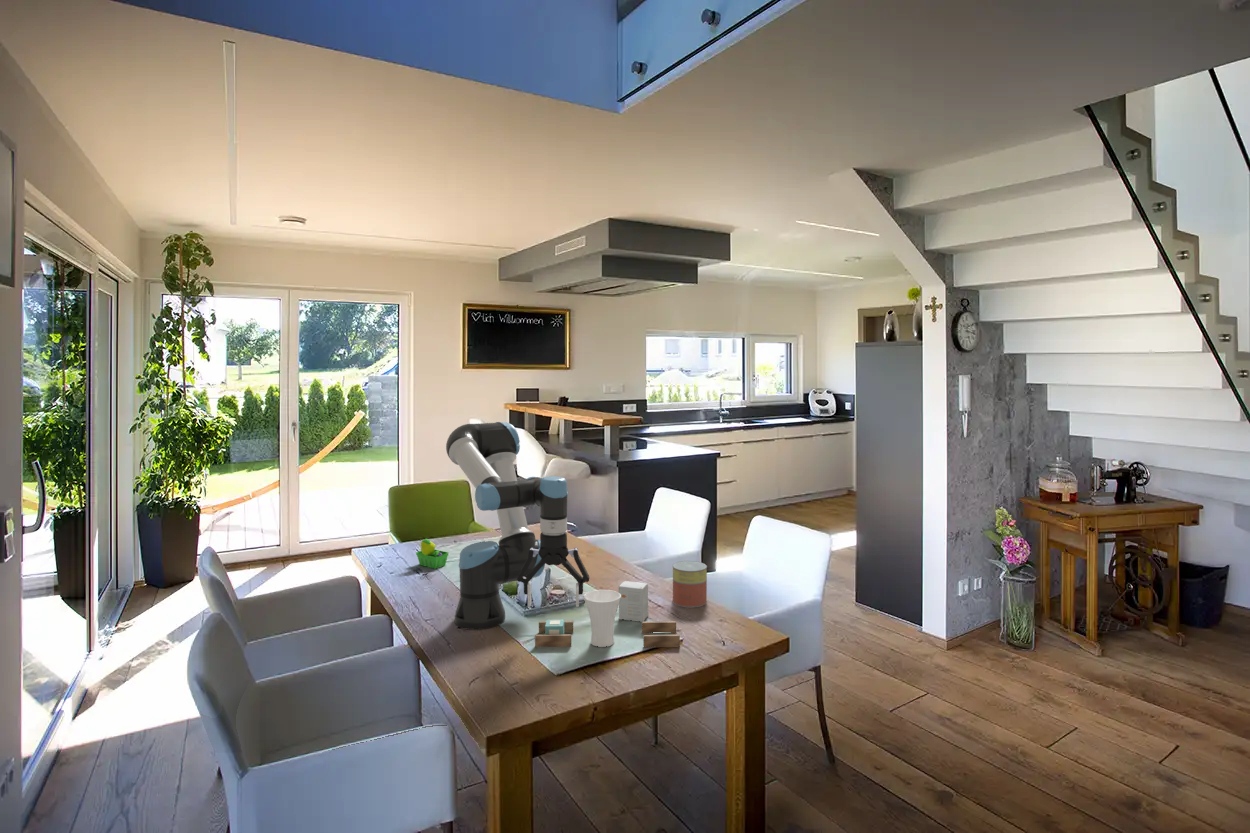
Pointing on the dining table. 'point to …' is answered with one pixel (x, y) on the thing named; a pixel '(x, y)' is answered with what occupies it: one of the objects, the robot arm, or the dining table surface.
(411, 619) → the dining table surface
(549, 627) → the letter cube
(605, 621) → the cup
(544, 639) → the caddy left
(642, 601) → the small box
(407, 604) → the dining table surface
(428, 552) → the fruit basket
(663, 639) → the caddy right
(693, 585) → the canned food
